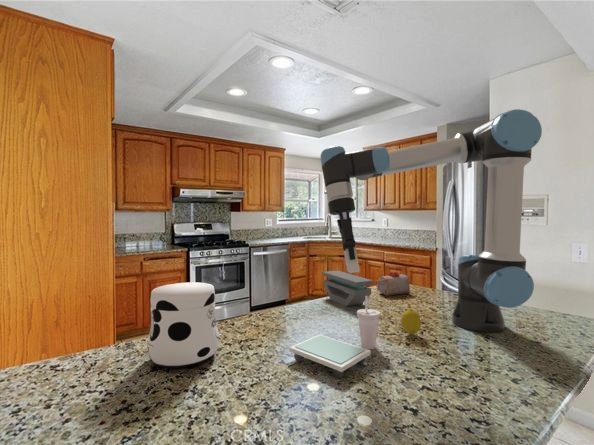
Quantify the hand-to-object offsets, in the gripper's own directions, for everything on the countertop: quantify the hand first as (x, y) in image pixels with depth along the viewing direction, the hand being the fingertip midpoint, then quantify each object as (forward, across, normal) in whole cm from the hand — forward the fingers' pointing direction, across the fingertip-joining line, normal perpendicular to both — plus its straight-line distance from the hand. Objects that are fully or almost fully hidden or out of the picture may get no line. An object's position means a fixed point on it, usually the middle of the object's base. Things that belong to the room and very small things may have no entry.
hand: (353, 272), depth 94 cm
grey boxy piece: (+14, -62, +20) cm, 66 cm away
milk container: (+15, +11, -47) cm, 50 cm away
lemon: (+22, -10, +14) cm, 28 cm away
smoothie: (+21, -1, +1) cm, 21 cm away
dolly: (+21, +10, -10) cm, 25 cm away
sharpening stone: (+13, -46, -3) cm, 48 cm away
